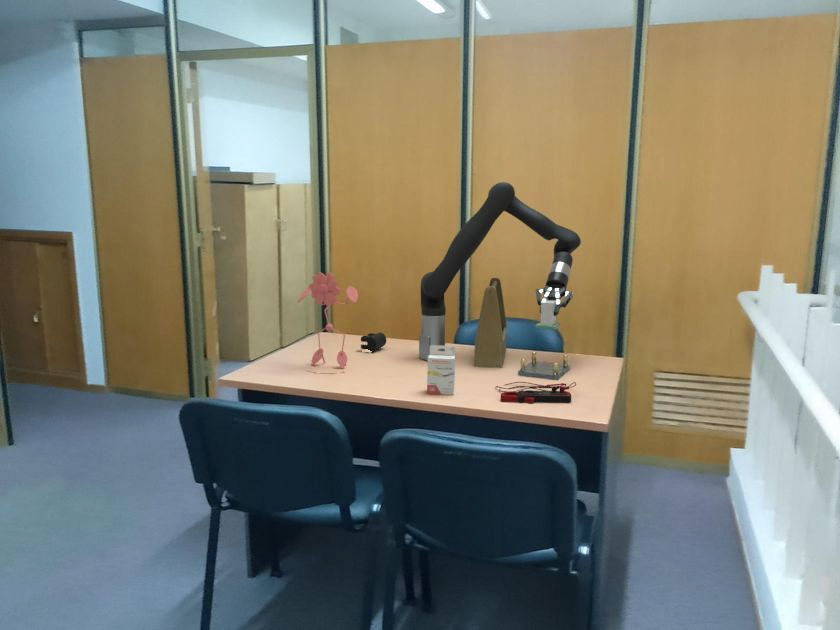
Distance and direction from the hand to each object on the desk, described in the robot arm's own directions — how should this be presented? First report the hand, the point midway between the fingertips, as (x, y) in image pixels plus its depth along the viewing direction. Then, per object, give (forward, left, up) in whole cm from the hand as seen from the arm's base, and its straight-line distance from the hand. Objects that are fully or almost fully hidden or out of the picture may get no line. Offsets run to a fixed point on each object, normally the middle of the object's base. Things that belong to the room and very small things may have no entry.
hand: (548, 314), depth 237 cm
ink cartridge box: (-49, -3, -21) cm, 53 cm away
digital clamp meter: (-24, -20, -21) cm, 37 cm away
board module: (0, 0, -5) cm, 5 cm away
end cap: (-36, +62, -21) cm, 75 cm away
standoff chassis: (-3, -2, -21) cm, 21 cm away
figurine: (-66, +45, -21) cm, 82 cm away
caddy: (-5, +25, -21) cm, 33 cm away
